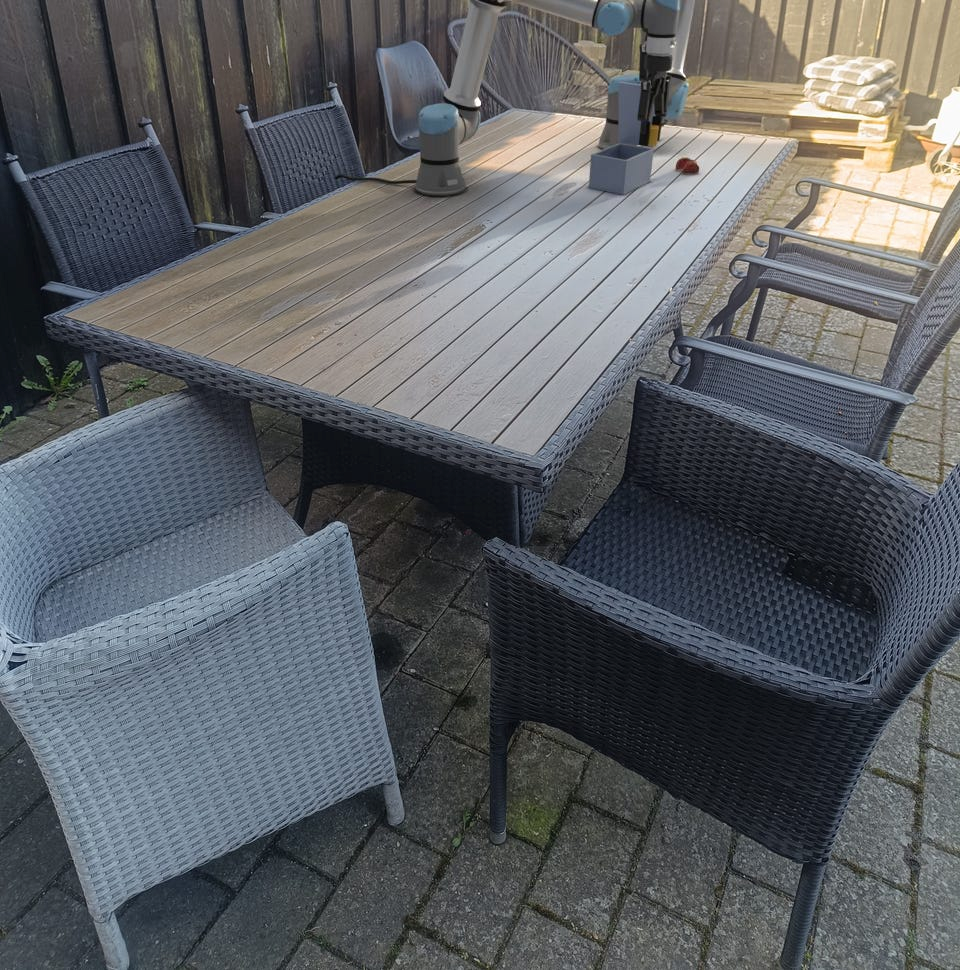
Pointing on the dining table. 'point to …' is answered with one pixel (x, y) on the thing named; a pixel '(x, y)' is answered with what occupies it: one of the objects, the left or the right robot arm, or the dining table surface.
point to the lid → (630, 113)
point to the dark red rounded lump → (687, 165)
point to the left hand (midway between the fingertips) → (649, 142)
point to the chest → (620, 168)
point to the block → (653, 135)
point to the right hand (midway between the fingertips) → (647, 103)
